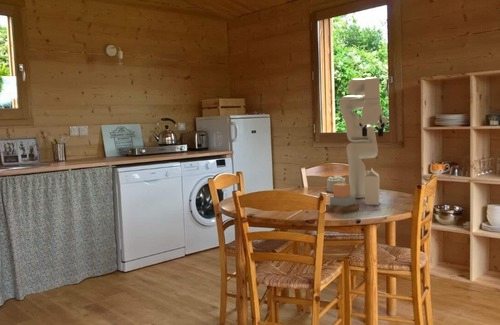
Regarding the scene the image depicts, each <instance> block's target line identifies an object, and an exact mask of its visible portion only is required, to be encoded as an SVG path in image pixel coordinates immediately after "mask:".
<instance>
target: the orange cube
mask: <svg viewBox="0 0 500 325" xmlns="http://www.w3.org/2000/svg"><path fill="white" fill-rule="evenodd" d="M332 193H333V195H332V196H333V197H341V198H345V197H348V196H350V184H349V183H345V184H343V183H339V184H335V185H333V192H332Z"/></svg>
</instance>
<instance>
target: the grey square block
mask: <svg viewBox="0 0 500 325" xmlns="http://www.w3.org/2000/svg"><path fill="white" fill-rule="evenodd" d="M329 203H330V205H337V206H349V205H352V204H356V203H357V200H356V198H355V196H353V195H350V196H348V197H345V198H341V197H333V195H332V196H329Z"/></svg>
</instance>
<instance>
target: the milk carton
mask: <svg viewBox="0 0 500 325" xmlns="http://www.w3.org/2000/svg"><path fill="white" fill-rule="evenodd" d="M364 184H365V198H364V205H367V206H368V205H372V206H373V205H374V206H375V205H376V206H377V205H378V206H379V205H380V198H381V197H380V174H379V173H378V172H376V171H375V170H374V169H373V167H371V169H370V170H366V175H365V177H364Z"/></svg>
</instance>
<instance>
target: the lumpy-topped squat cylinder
mask: <svg viewBox="0 0 500 325" xmlns="http://www.w3.org/2000/svg"><path fill="white" fill-rule="evenodd" d="M327 178H328V179H326V186H327V187H326V188H327V189H326V190H327V192H329V193H333V185H335V184H339V183H343V184H346V178H345V177H342V176H337V175H334V176H333V177H332V176H329V177H327Z"/></svg>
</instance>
